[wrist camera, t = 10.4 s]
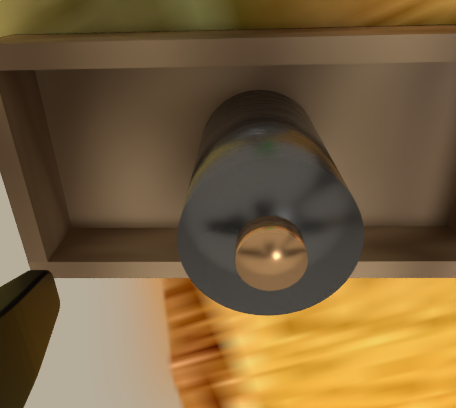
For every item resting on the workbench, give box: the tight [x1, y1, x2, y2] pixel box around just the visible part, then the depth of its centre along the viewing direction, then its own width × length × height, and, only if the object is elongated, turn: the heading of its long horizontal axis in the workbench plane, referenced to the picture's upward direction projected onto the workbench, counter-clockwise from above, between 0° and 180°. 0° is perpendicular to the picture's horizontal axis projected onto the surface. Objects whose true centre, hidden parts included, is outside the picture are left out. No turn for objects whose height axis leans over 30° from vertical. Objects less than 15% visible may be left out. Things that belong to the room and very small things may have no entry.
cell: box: [177, 90, 364, 315], centre depth 12 cm, size 4×4×8 cm
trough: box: [0, 25, 456, 278], centre depth 15 cm, size 18×8×3 cm, turn 91°
